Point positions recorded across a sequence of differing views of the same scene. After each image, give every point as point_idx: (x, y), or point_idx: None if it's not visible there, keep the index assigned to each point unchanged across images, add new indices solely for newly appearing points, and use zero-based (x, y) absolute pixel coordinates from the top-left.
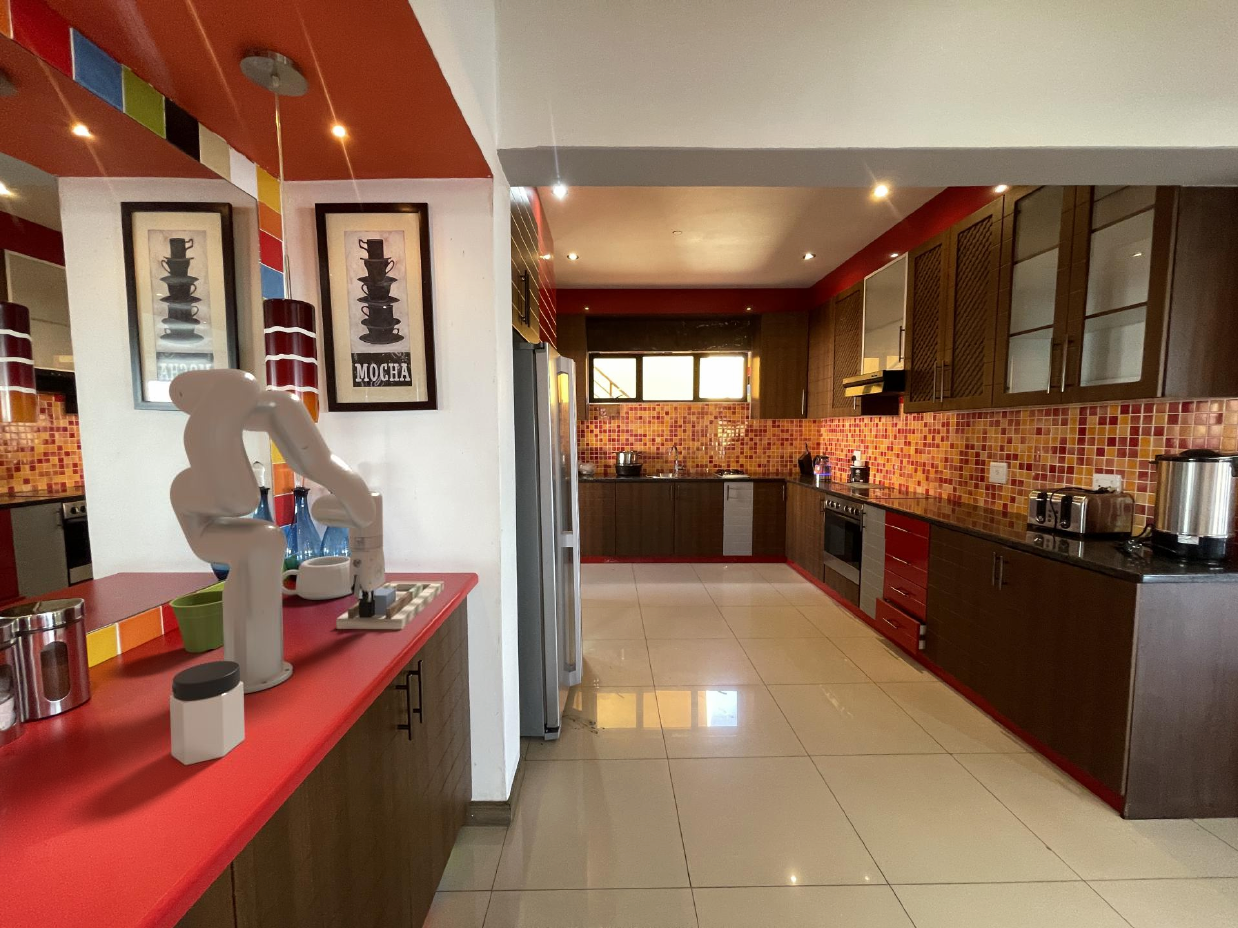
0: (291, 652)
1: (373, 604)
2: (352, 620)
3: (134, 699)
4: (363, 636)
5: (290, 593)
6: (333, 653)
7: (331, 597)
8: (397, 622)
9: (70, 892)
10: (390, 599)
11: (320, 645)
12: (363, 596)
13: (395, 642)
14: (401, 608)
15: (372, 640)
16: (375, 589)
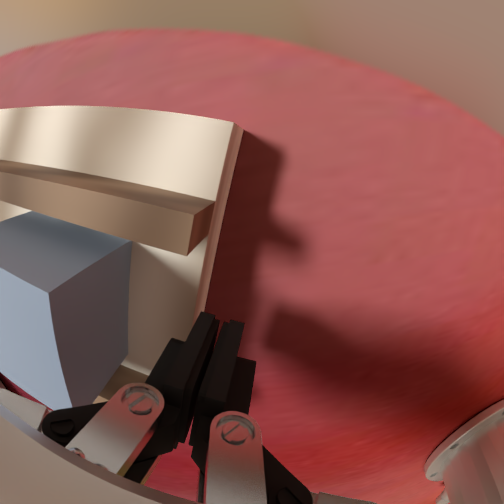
0: (371, 451)
1: (195, 367)
2: None
3: (435, 500)
4: (309, 309)
5: None
6: (442, 366)
7: (2, 386)
8: (231, 153)
9: None
10: (34, 247)
11: (351, 416)
12: (311, 500)
13: (434, 152)
14: (58, 170)
15: (378, 262)
16: (90, 438)
